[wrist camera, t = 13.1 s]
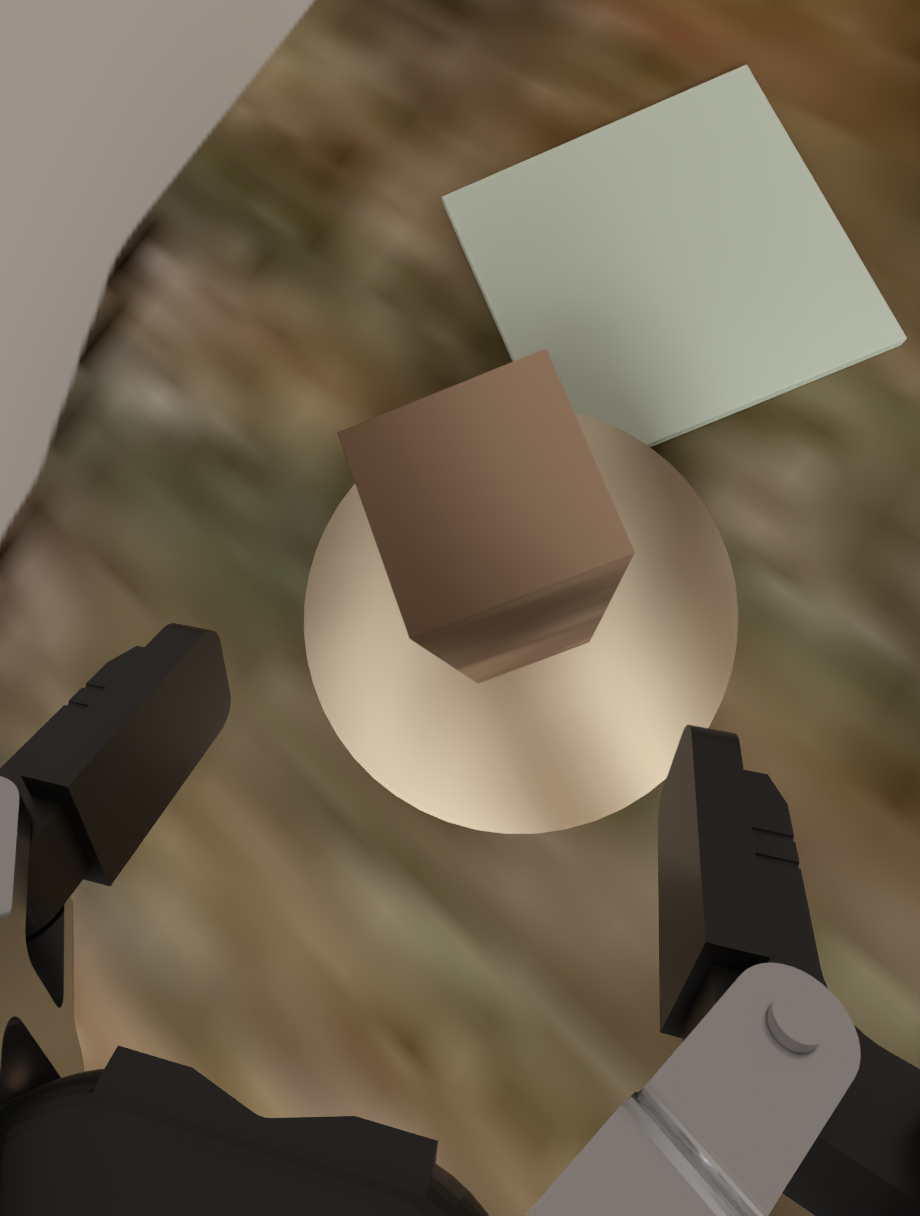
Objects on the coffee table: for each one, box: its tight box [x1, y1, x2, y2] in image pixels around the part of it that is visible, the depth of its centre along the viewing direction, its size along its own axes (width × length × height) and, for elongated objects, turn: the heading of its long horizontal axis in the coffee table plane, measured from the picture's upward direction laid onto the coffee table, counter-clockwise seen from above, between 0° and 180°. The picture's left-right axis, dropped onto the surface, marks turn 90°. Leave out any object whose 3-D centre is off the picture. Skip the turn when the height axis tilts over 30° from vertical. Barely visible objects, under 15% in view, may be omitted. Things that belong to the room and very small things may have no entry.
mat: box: [442, 64, 907, 447], centre depth 28 cm, size 14×14×1 cm
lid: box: [304, 349, 738, 834], centre depth 16 cm, size 13×13×12 cm
